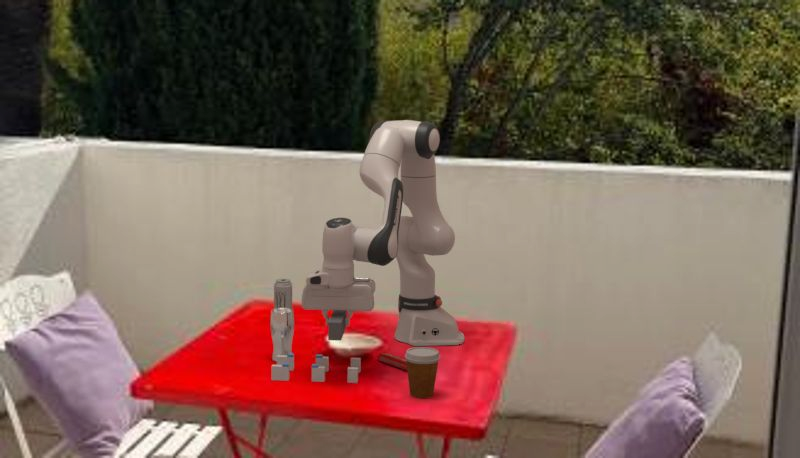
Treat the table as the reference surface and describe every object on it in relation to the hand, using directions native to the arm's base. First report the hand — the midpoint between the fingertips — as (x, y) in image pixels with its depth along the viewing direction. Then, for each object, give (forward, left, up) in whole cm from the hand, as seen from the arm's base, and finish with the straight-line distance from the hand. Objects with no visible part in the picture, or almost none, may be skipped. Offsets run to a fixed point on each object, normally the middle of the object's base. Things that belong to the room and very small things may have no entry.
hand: (337, 325), depth 286 cm
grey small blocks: (+6, 0, -15) cm, 16 cm away
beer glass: (+18, -14, -15) cm, 27 cm away
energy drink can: (+24, -53, -15) cm, 60 cm away
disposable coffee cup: (-24, +13, -15) cm, 31 cm away
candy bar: (-16, -11, -15) cm, 25 cm away
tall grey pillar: (0, 0, -2) cm, 2 cm away
